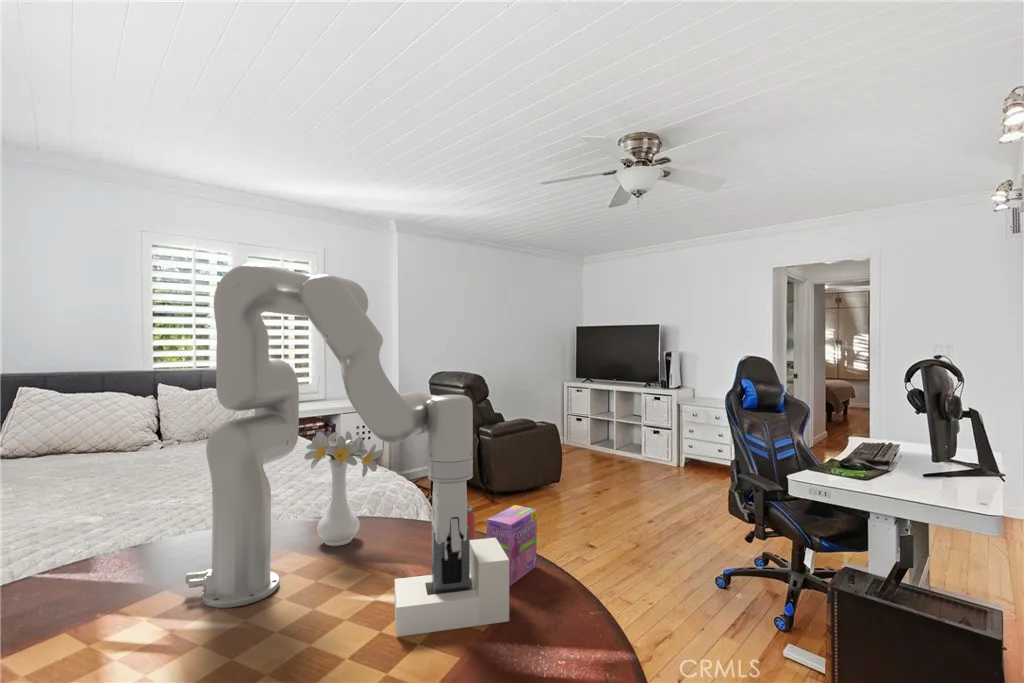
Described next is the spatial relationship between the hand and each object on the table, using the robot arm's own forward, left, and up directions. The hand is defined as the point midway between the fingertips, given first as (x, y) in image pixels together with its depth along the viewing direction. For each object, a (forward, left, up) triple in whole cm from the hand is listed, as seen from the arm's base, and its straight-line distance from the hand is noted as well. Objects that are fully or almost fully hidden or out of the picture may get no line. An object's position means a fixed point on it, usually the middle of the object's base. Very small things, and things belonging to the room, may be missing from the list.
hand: (450, 576), depth 85 cm
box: (+14, +12, -6) cm, 19 cm away
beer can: (+4, +17, -6) cm, 19 cm away
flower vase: (-20, +38, -6) cm, 43 cm away
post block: (0, 0, -6) cm, 6 cm away
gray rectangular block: (0, 0, -4) cm, 4 cm away
